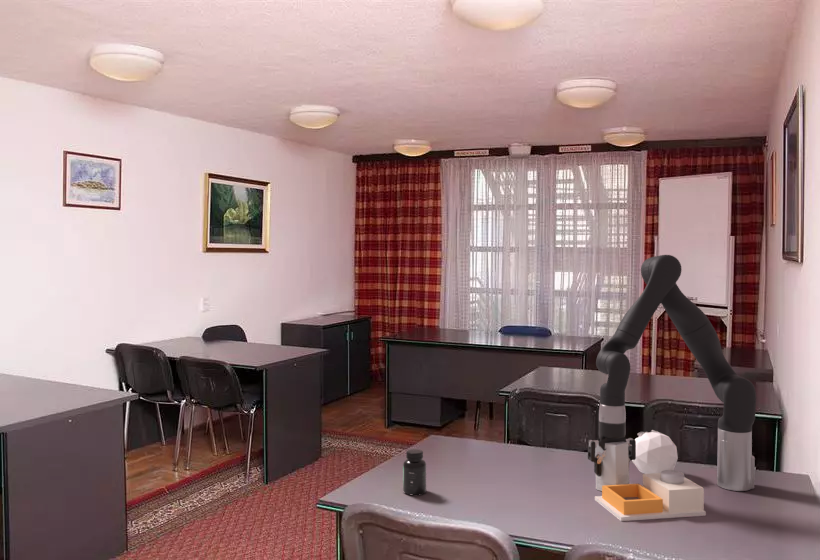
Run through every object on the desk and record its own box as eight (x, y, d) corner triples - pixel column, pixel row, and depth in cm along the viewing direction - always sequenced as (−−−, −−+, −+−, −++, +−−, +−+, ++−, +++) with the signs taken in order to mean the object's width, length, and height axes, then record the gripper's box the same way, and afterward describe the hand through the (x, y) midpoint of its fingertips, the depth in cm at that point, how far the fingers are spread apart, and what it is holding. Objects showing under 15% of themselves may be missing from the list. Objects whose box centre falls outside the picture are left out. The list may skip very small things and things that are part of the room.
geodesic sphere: (623, 461, 211) (652, 425, 210) (614, 449, 225) (642, 415, 224) (663, 492, 210) (693, 456, 209) (652, 478, 224) (680, 444, 223)
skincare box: (630, 493, 200) (630, 442, 200) (616, 497, 197) (616, 445, 196) (607, 485, 207) (607, 436, 207) (593, 489, 204) (593, 439, 203)
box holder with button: (673, 495, 199) (673, 464, 198) (705, 515, 183) (706, 481, 183) (594, 499, 195) (594, 468, 195) (621, 521, 179) (621, 486, 179)
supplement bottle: (398, 493, 200) (398, 452, 200) (409, 486, 206) (409, 446, 206) (419, 497, 197) (419, 455, 197) (430, 490, 203) (430, 449, 203)
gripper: (628, 415, 206) (628, 469, 207) (583, 417, 204) (583, 472, 204) (641, 421, 199) (640, 477, 199) (594, 423, 197) (593, 480, 197)
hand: (611, 474), depth 202 cm, fingers open, 7 cm apart
